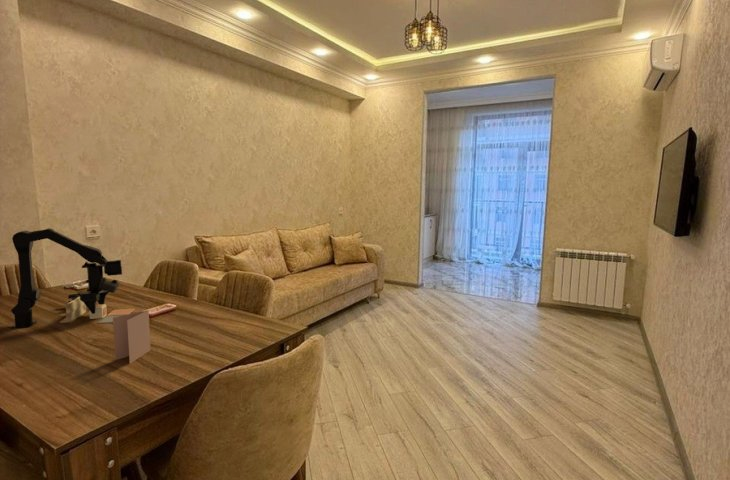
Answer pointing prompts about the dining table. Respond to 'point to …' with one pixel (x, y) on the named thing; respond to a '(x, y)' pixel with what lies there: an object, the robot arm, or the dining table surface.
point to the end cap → (75, 296)
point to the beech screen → (74, 310)
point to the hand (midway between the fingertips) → (97, 310)
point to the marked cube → (99, 312)
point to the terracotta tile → (121, 312)
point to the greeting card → (131, 335)
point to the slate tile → (107, 319)
